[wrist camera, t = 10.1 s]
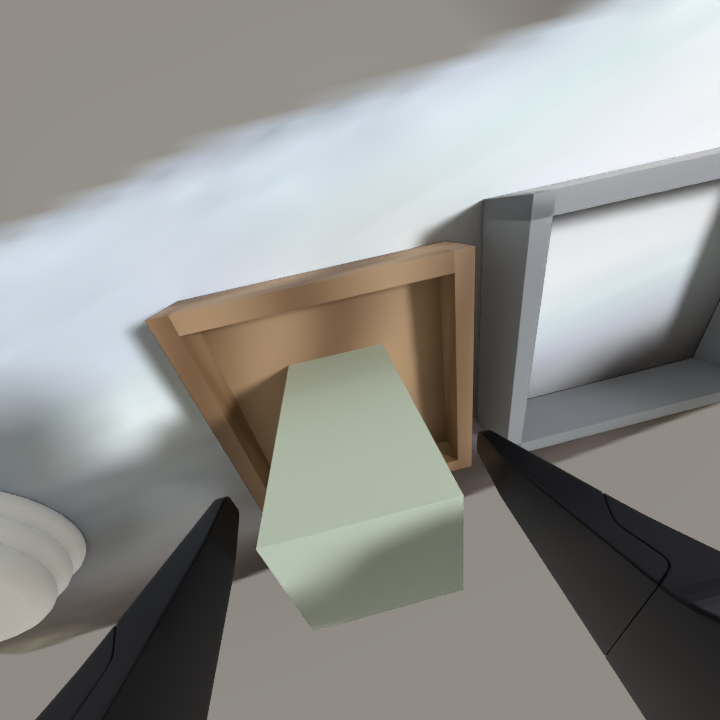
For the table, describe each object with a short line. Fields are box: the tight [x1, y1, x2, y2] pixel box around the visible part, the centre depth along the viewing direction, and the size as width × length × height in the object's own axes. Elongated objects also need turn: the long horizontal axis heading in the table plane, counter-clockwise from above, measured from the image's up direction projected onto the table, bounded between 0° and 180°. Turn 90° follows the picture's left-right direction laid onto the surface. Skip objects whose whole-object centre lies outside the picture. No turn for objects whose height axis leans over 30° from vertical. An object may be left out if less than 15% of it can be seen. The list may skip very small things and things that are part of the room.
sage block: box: [256, 344, 463, 631], centre depth 10 cm, size 4×4×8 cm
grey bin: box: [477, 148, 720, 451], centre depth 13 cm, size 16×13×3 cm
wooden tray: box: [145, 241, 475, 512], centre depth 14 cm, size 12×12×2 cm
